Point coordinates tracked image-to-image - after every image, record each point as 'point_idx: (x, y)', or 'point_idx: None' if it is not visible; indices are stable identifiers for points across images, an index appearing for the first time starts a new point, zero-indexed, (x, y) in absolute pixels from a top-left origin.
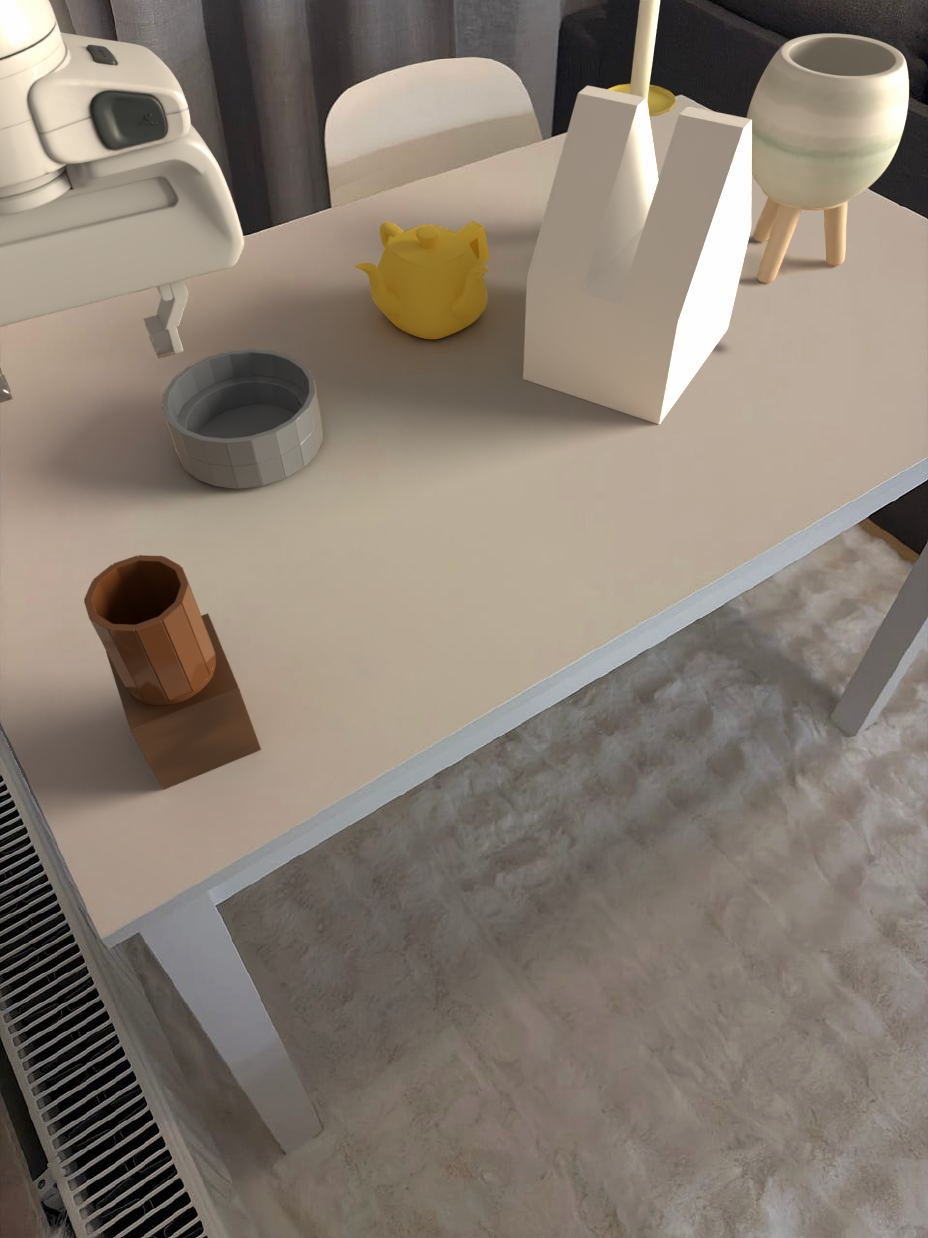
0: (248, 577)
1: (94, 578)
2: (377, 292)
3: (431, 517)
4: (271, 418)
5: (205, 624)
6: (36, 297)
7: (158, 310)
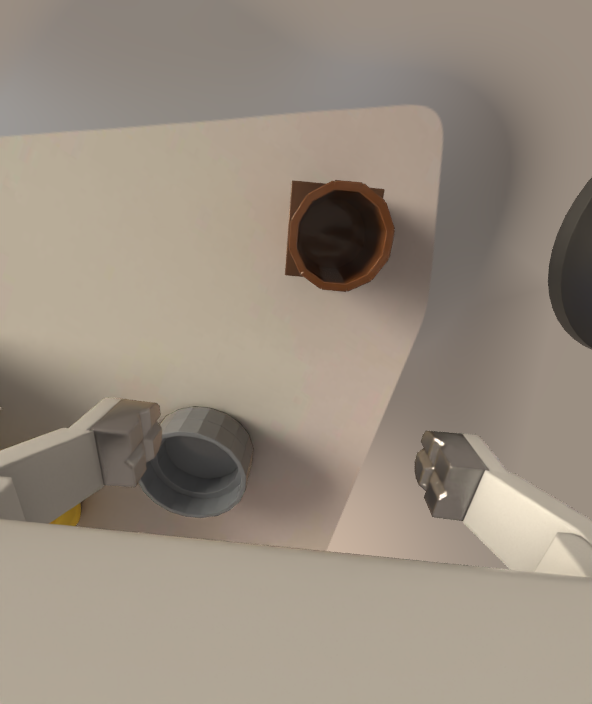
0: (248, 341)
1: (369, 281)
2: (64, 519)
3: (110, 323)
4: (185, 458)
5: (291, 264)
6: (343, 634)
7: (93, 489)
